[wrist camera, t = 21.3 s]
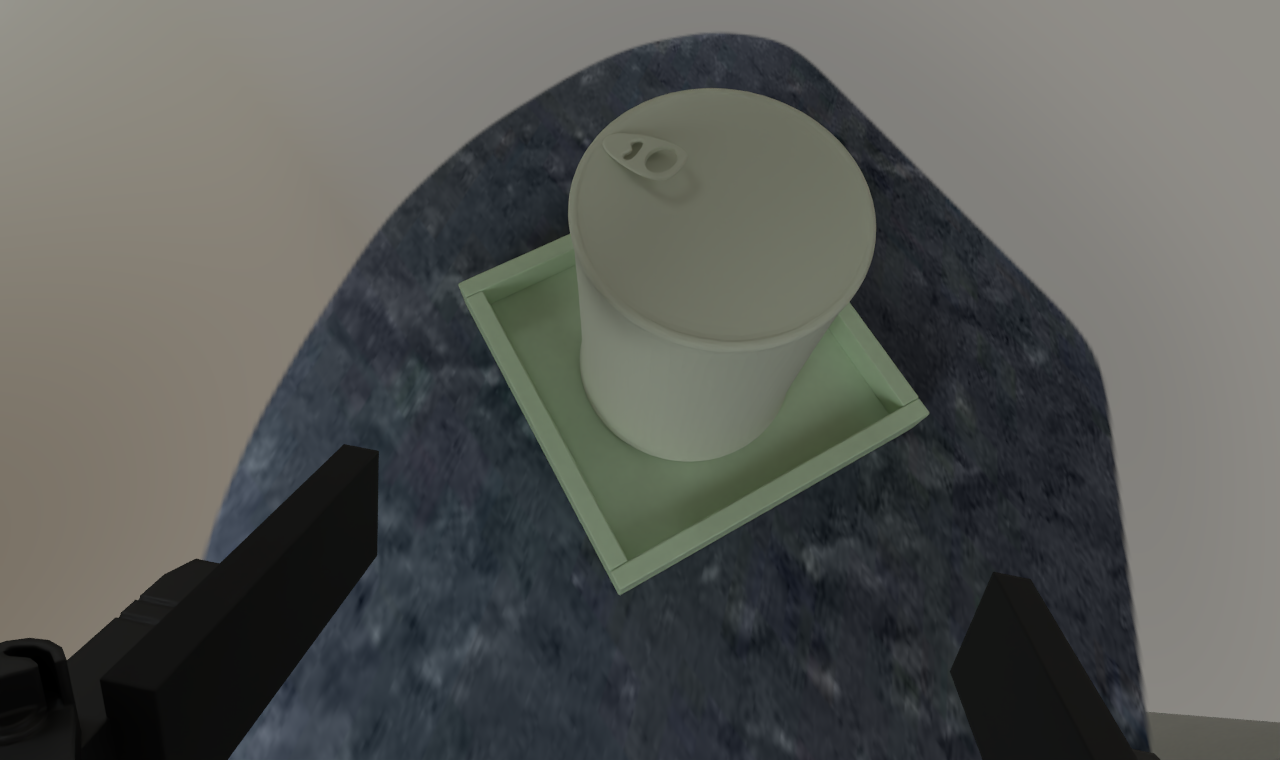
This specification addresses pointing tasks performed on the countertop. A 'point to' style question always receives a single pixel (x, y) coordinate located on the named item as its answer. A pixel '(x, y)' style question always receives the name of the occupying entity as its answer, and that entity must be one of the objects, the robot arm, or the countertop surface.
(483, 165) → the countertop surface
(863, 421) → the tray
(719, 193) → the can
